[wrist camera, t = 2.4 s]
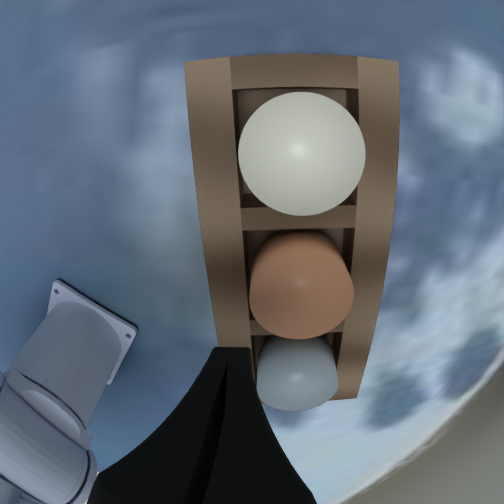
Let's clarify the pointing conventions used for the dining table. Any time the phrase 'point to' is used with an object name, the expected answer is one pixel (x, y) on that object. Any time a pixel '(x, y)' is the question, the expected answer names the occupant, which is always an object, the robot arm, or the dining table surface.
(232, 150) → the button board
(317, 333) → the terracotta button
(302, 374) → the slate button
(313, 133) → the cream button
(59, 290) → the robot arm
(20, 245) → the dining table surface
